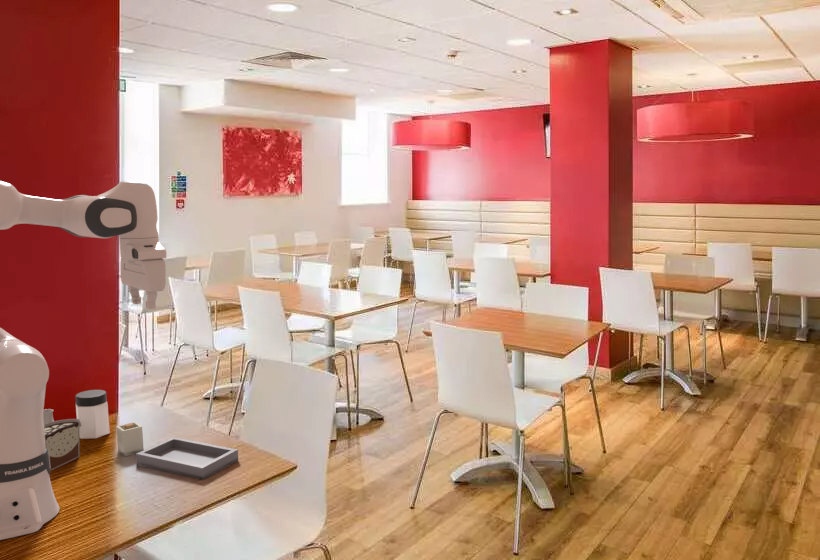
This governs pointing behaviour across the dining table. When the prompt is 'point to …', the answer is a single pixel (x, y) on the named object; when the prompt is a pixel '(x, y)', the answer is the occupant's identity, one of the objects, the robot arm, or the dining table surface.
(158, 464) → the tray
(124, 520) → the dining table surface
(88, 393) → the jar
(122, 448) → the cup
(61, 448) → the food container
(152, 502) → the dining table surface
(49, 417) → the flask
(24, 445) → the robot arm
